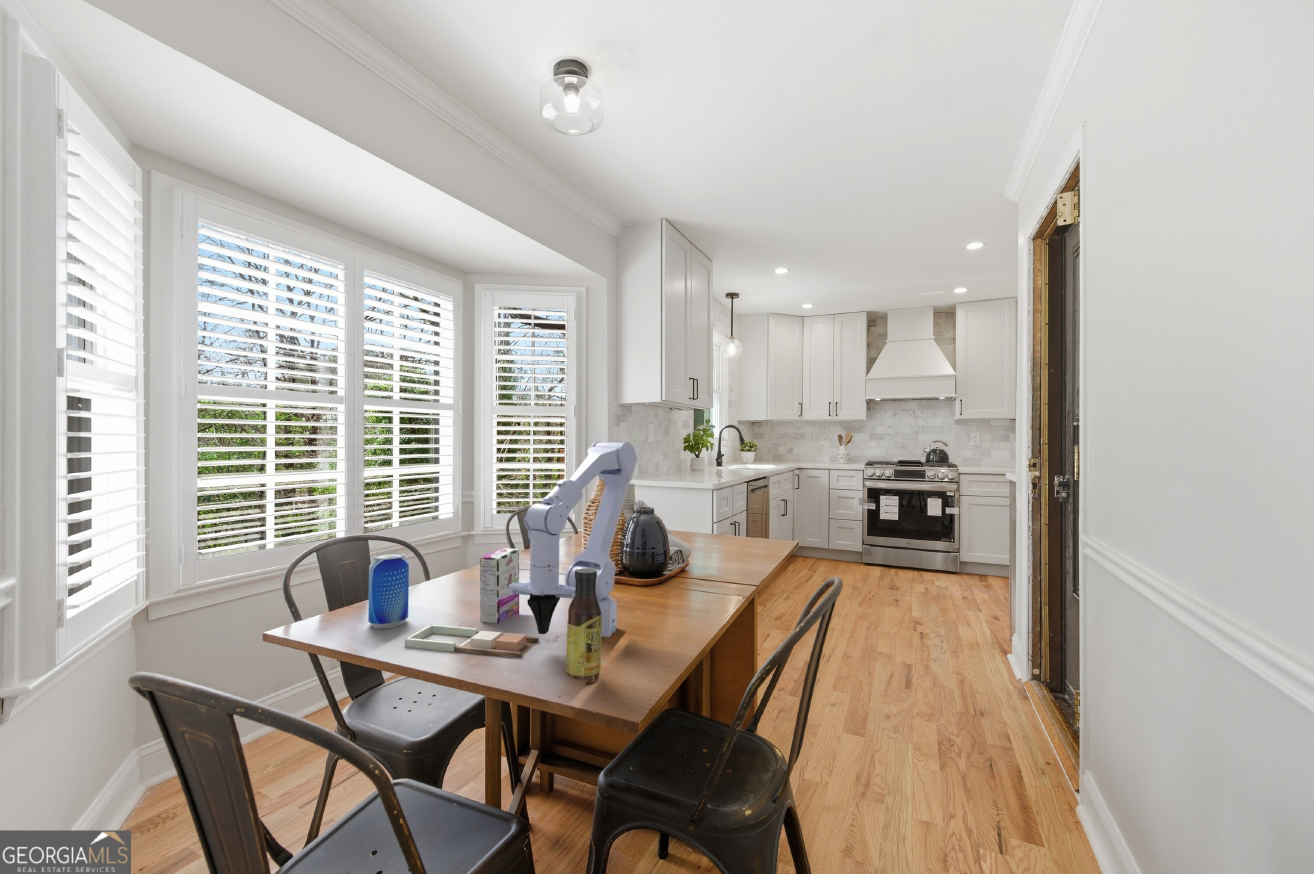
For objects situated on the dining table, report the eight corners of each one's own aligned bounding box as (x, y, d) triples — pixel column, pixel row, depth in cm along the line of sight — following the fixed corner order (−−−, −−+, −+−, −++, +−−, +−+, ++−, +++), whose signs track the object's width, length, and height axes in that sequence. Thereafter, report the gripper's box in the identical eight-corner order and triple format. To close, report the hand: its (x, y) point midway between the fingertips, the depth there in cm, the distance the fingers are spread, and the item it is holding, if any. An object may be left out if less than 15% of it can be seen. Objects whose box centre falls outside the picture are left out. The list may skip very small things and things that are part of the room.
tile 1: (501, 642, 117) (501, 632, 117) (490, 650, 113) (490, 640, 113) (481, 640, 118) (481, 630, 118) (470, 648, 114) (470, 638, 114)
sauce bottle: (590, 689, 99) (591, 576, 99) (559, 683, 102) (560, 572, 102) (607, 675, 105) (608, 568, 105) (577, 669, 108) (578, 565, 108)
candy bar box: (501, 613, 141) (501, 547, 141) (519, 614, 140) (520, 548, 140) (478, 628, 130) (479, 556, 130) (498, 629, 129) (499, 557, 129)
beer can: (373, 632, 126) (374, 560, 126) (364, 622, 133) (365, 554, 133) (412, 625, 132) (413, 556, 132) (402, 615, 138) (403, 550, 138)
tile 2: (526, 644, 116) (526, 634, 116) (516, 652, 112) (516, 642, 112) (506, 642, 117) (506, 632, 117) (495, 650, 113) (495, 640, 113)
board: (538, 648, 118) (538, 637, 118) (519, 665, 109) (519, 653, 109) (477, 642, 121) (477, 631, 121) (453, 658, 112) (453, 647, 112)
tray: (477, 642, 121) (477, 628, 121) (453, 658, 112) (454, 643, 112) (430, 638, 123) (431, 624, 123) (404, 653, 114) (404, 638, 114)
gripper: (501, 566, 111) (500, 636, 111) (572, 571, 108) (570, 642, 108) (517, 558, 118) (516, 624, 118) (584, 563, 115) (583, 630, 115)
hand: (543, 632), depth 113 cm, fingers closed
